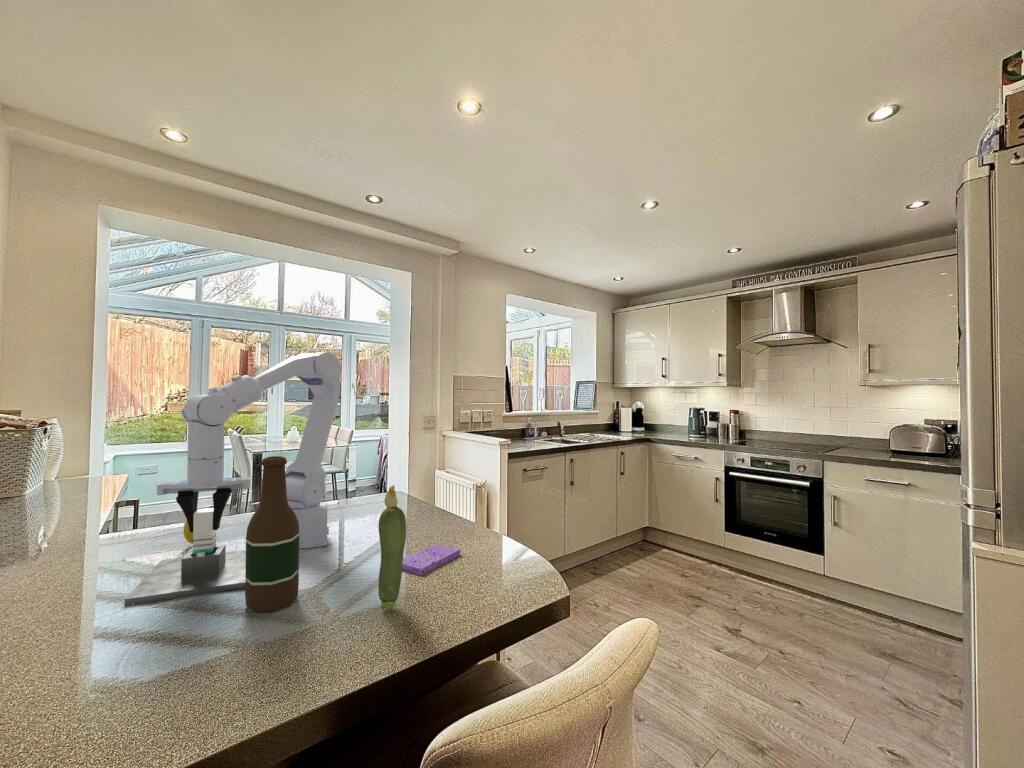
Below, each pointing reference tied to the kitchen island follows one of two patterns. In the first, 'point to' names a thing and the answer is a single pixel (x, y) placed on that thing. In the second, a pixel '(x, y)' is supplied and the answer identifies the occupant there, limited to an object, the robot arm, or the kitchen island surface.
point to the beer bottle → (272, 545)
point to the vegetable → (391, 550)
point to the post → (204, 532)
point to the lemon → (188, 533)
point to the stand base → (192, 576)
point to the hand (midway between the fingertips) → (204, 529)
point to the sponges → (429, 559)
